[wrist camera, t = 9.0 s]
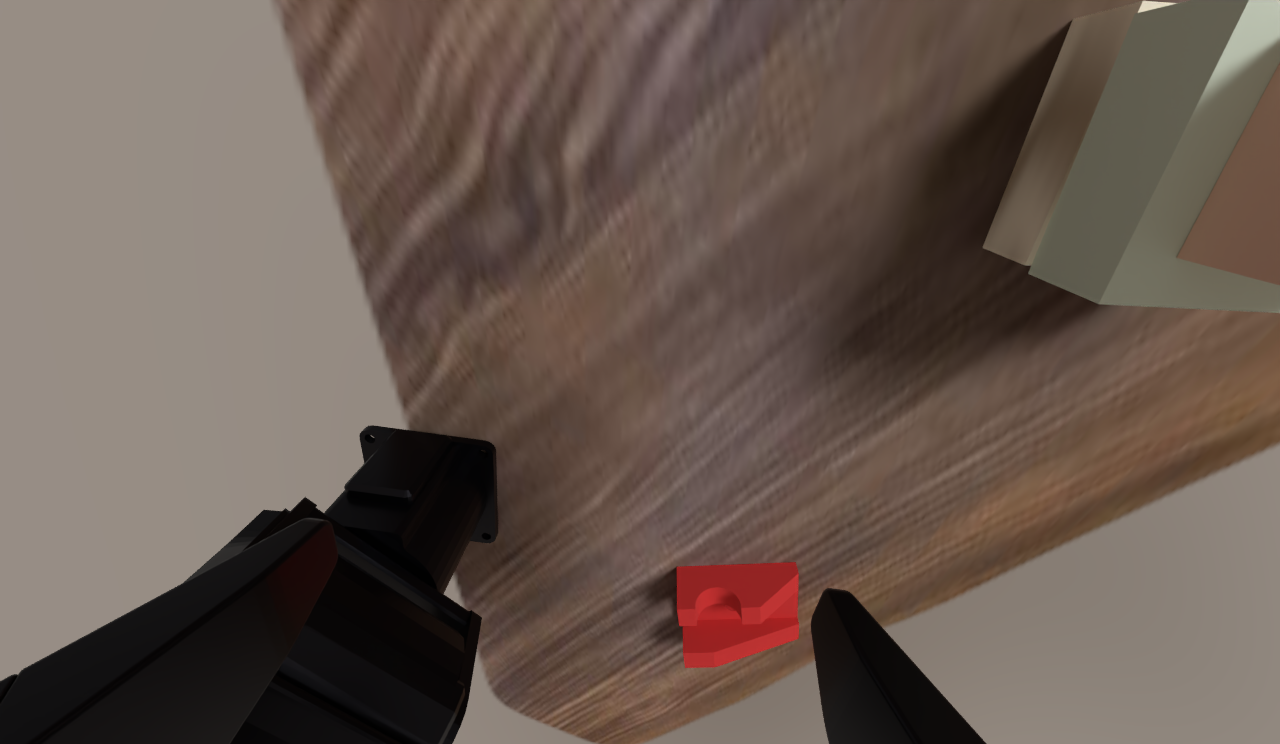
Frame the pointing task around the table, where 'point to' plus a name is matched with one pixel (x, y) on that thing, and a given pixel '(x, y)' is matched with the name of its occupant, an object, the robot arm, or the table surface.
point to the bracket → (735, 610)
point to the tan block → (1245, 201)
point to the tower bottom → (1059, 130)
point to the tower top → (1163, 159)
